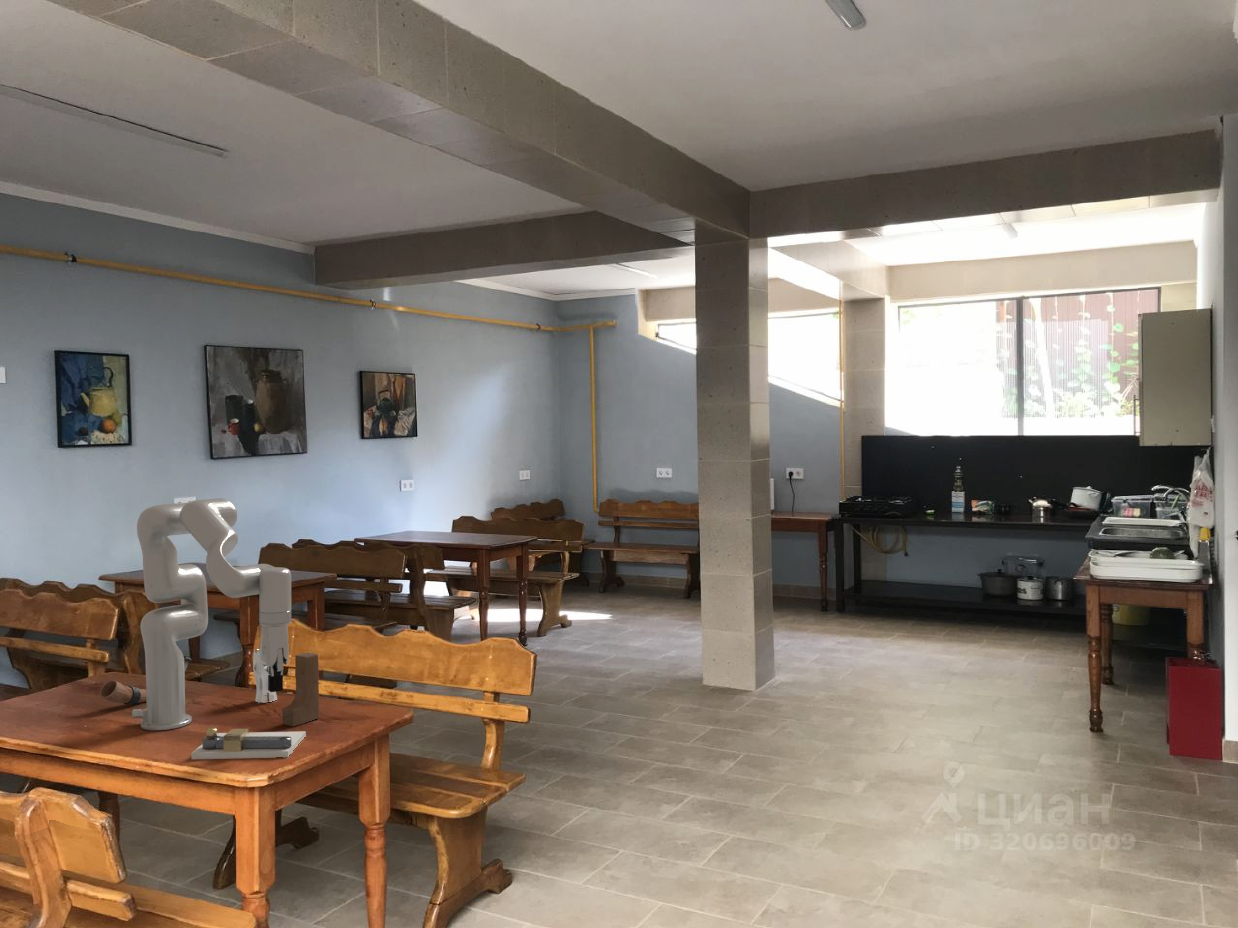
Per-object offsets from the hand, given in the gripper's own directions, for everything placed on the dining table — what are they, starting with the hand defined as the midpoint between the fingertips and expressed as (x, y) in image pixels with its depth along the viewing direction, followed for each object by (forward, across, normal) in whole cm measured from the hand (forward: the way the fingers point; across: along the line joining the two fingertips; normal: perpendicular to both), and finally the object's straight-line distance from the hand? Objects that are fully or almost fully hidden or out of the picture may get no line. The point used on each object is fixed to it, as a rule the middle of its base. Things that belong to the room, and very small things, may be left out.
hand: (275, 690), depth 247 cm
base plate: (+15, -4, -5) cm, 16 cm away
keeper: (+13, -2, -11) cm, 18 cm away
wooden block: (+15, -20, +11) cm, 27 cm away
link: (+13, +1, -7) cm, 14 cm away
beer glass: (+15, -46, +9) cm, 50 cm away
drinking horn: (+16, -67, -20) cm, 71 cm away
